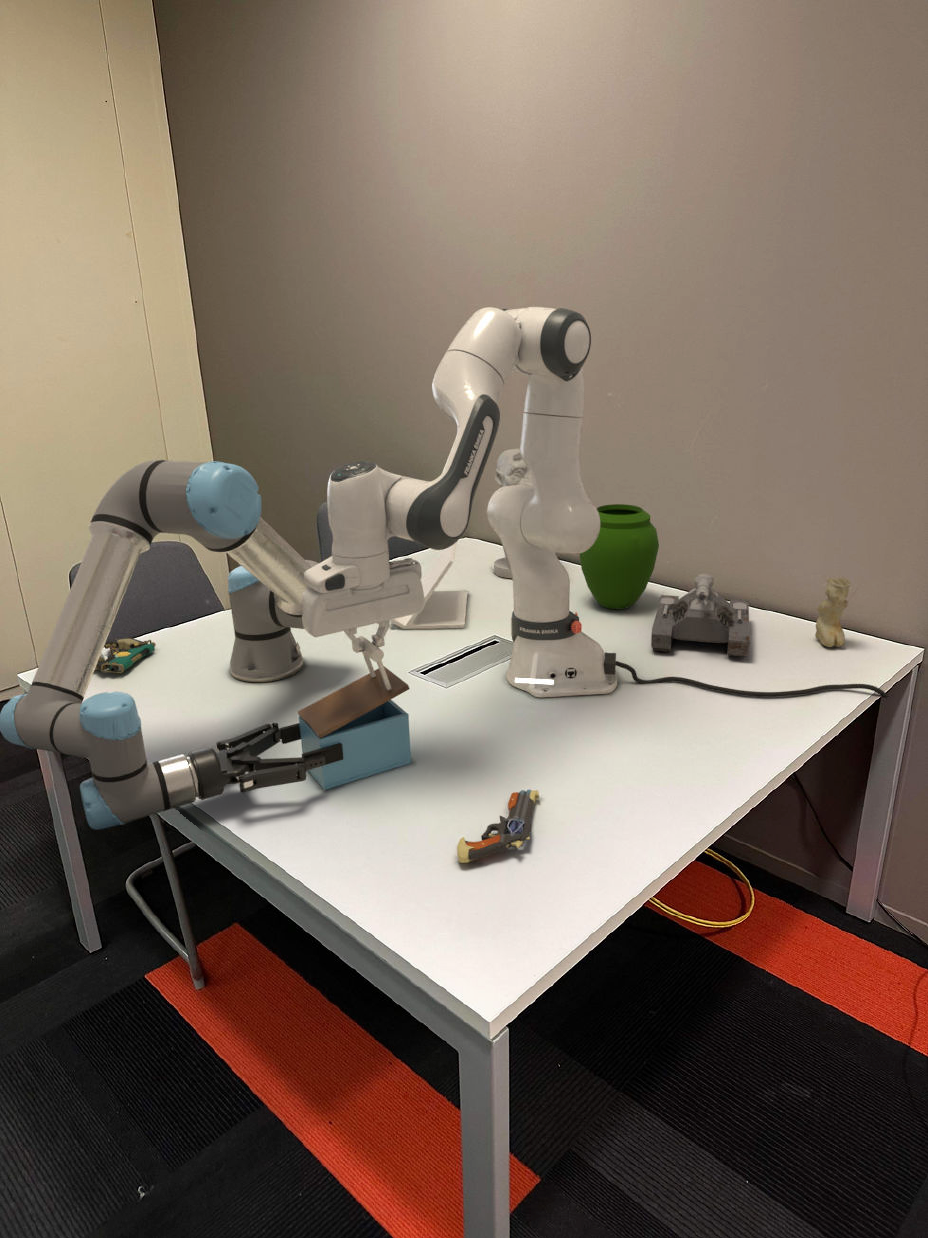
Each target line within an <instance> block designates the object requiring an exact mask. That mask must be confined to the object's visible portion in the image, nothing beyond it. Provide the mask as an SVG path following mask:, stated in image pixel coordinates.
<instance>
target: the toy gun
mask: <svg viewBox="0 0 928 1238" xmlns="http://www.w3.org/2000/svg"><path fill="white" fill-rule="evenodd" d="M536 800H540V792H539V790H538V789H535V790H531V789H527V790H524V789H522V790H520V791H519V792H518V791H514V792H512V793H510V797H509V800H508V803H507V809H508V811H509V815H508V816H507V817H505V816H503V815H499V823H490V824H488V825H487V827H486V829H485V831H484V833H482V834H481V836H480V838H481V840H479V841H468V840H466V839H465V837H464V836H463V837H461V838H460V839H459V841H458V843H457V845H456V852H457V858H458V862H459V863H462V864H467V863H469V862H471V861H475V860H479V859H483V858H486V857H488V856H491V855H493V854H497V853H502V852H505V851H507V850H508V849H510V848H512V847H516V850H518V849H520V848H521V846H522V845H523V844H524V841H527V840H530V836H531V831H532V814H533V809H534V805H535V803H536ZM492 832H497V833H495V834H492ZM507 832H508V833H507Z"/></svg>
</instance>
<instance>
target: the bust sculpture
mask: <svg viewBox="0 0 928 1238" xmlns="http://www.w3.org/2000/svg"><path fill="white" fill-rule="evenodd" d="M494 480H495V482H496V484H497V486H498V487H504V486H512V485H527V486H532V487H534V482H533V478H532V474H531V472H530V469H529V468H528V466H527V465H526V463H525V462H524V461H523V460H522V458H521V455H520V448H512V449H506V450H504V451H502V452H501V454H500V455H499V457H498V459H497V461H496V468H495V471H494ZM485 514H486V515H487V511H486V513H485ZM499 540H500V542H501V546H502V548H503V553H504V557H502V558H498V559H496V560H495V561H494V562H493V573H494V574H495V575H496V576H497V577H500V578H506V579H513V578H512V572H511V568H510V564H509V560H508V557H507V554H506V551H505V549H504V546H503V544H502V541H501V539H500V538H499Z"/></svg>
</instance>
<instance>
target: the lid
mask: <svg viewBox="0 0 928 1238" xmlns="http://www.w3.org/2000/svg"><path fill="white" fill-rule="evenodd" d="M356 638H357V639H359V638H360V639H361V640H363V641H364V645H365V646H364V648H365V651H362V652H361V653H362V656H363V658H364V661H365V664H366V666H367V669H368V672H369V673H368V674H365V675H363V676H362V677H359V678H358V679H355V680H353V681H352V682H350V683H349V684H347V685H345V686H343V687H341V688H339V689H337V690H335V691H333V692H331V693H330V694H328V695H326V696H324V697H322V698H320V699H318V700H316V701H315V702H313V703H311V704H309V705H307V706H306V707H304V708H301V709H300V710H298V711H297V714H298V717H299V716H300V717H301V718H302V719H303V720H304V721H305V723H306V724H307V725H308V726H309V727H310V728H311V729H312V730H313V731H314V732H315V734H316V735H317V736H318V737H319V738H322V737H324V736H326V735H327V734H329V733H331V732H333V731H335V730H337V729H338V728H340V727H342V726H344V725H346V724H347V723H349V722H351V721H353V720H355V719H356V718H358V717H360V716H362V715H364V714H365V713H367V712H369V711H371V710H373V709H375V708H376V707H378V706H380V705H382V704H384V703H385V702H387V701H389V700H393V699H395V698H396V697H399V696H400V695H402V694H403V693H405V692H407V691H409V690H410V686H409V684H408V683H406V682H405V681H404V680H403V679H401V677H399V676H397V675H396V674H395V673H394V672H392V671H391V670H389V668H387V667H386V666H385V665H384V664H383V659H384V657H385V652H384V651H383V650H382V649H381V648H380V647H377V646H375V645H374V644H373V643H372V641H370V640H369V639H367V638H366V637H365V636H363V635H360V636H357V637H356ZM371 660H372V661H373V662H375V663H376V664H377V667H378V668H376V669H374V667H373V664H372V661H371Z"/></svg>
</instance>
